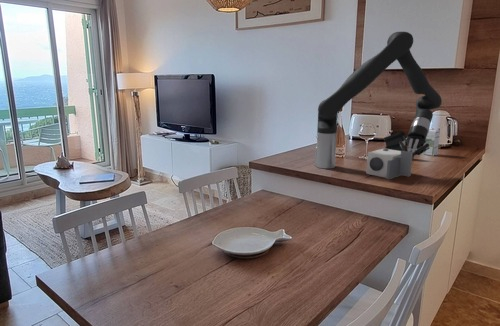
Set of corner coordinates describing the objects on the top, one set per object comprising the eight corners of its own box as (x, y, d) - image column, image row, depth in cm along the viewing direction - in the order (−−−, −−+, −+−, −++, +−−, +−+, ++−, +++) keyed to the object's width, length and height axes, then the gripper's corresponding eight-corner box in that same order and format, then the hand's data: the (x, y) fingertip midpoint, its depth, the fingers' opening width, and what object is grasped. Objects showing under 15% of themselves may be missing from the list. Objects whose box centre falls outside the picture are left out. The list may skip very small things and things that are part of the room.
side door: (386, 178, 147) (388, 153, 144) (397, 174, 153) (400, 150, 151) (398, 181, 143) (401, 155, 140) (410, 177, 149) (412, 152, 146)
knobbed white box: (364, 174, 159) (366, 150, 156) (382, 168, 168) (383, 146, 166) (389, 179, 149) (391, 154, 147) (406, 173, 159) (408, 150, 157)
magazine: (409, 157, 184) (400, 131, 186) (388, 164, 194) (380, 139, 197) (413, 157, 186) (404, 130, 188) (392, 163, 197) (384, 138, 199)
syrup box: (437, 155, 199) (440, 129, 195) (432, 156, 195) (435, 130, 192) (427, 153, 203) (430, 128, 200) (422, 154, 200) (425, 129, 196)
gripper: (402, 123, 157) (391, 154, 151) (434, 125, 149) (424, 158, 142) (405, 133, 162) (394, 163, 156) (436, 136, 154) (426, 168, 148)
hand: (408, 161), depth 149 cm, fingers closed
